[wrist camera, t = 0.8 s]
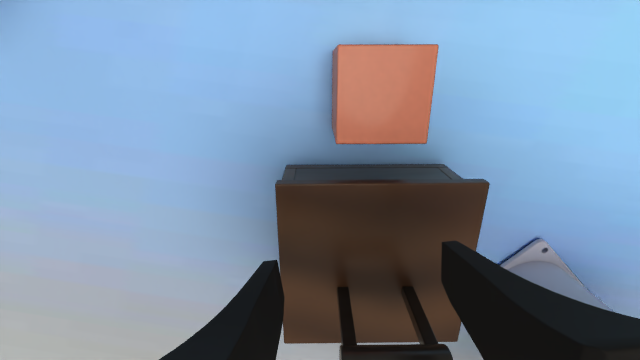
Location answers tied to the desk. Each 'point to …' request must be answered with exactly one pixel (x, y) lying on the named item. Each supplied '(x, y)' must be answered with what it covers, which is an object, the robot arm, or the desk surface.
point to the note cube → (382, 93)
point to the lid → (373, 262)
